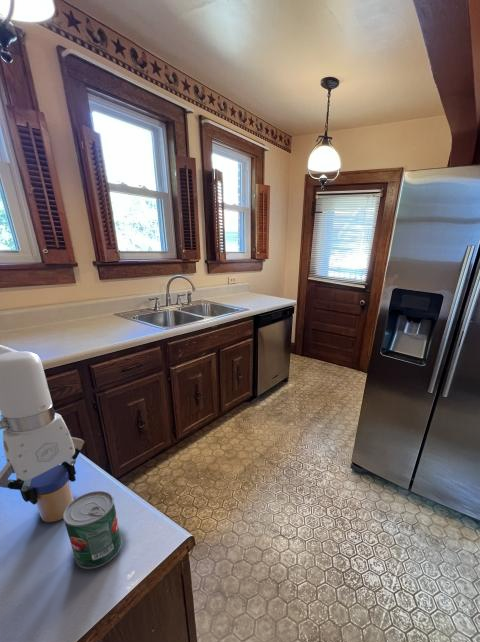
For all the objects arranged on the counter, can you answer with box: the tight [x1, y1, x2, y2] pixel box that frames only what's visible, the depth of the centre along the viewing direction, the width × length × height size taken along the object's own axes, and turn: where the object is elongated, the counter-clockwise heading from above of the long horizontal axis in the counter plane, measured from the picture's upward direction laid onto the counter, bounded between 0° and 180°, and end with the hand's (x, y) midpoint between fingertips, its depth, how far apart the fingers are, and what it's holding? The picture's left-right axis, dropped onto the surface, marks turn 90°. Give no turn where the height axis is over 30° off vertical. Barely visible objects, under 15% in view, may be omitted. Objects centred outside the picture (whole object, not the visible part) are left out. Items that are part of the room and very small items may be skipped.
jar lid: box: [30, 464, 69, 494], centre depth 65 cm, size 7×7×2 cm
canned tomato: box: [63, 490, 123, 570], centre depth 58 cm, size 8×8×11 cm
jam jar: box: [35, 480, 75, 523], centre depth 66 cm, size 6×6×9 cm
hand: (52, 489), depth 66 cm, fingers closed on jar lid, 6 cm apart
